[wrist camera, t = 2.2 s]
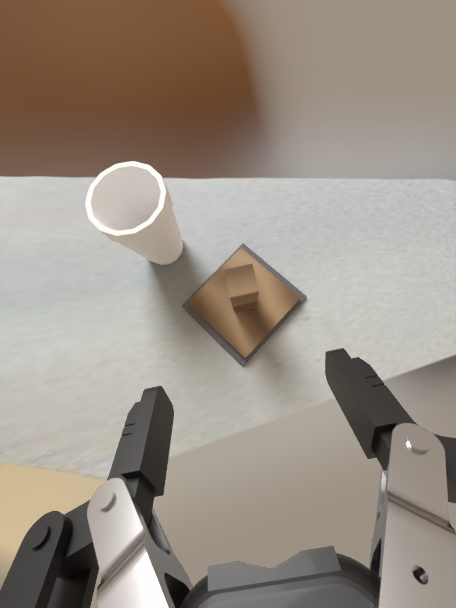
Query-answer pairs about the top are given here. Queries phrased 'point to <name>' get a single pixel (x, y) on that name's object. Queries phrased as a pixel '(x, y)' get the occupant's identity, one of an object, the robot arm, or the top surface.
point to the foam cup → (135, 211)
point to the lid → (243, 302)
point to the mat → (244, 360)
